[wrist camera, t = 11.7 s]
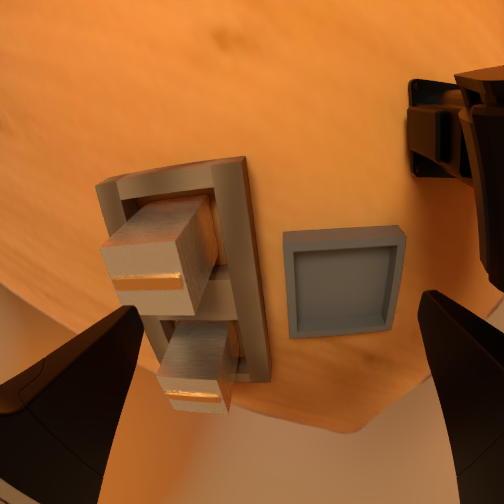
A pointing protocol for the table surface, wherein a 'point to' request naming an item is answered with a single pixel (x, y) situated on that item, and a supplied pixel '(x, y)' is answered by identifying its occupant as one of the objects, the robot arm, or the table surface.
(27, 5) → the table surface
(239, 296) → the grey flat frame
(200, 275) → the block
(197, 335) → the block
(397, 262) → the grey tray
